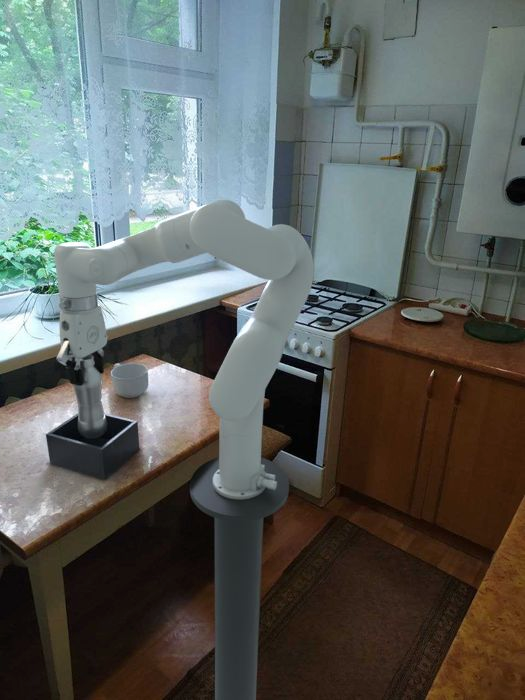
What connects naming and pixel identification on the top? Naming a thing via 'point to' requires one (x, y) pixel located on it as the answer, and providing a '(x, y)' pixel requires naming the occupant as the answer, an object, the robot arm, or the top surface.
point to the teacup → (130, 379)
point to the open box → (93, 446)
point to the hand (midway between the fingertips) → (87, 377)
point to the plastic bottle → (90, 401)
